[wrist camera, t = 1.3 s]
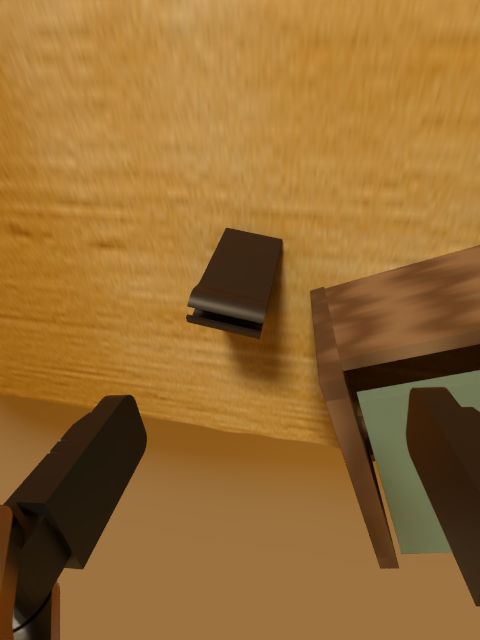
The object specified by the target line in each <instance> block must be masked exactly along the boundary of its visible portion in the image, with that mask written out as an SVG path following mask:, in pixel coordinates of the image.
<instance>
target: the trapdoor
mask: <svg viewBox="0 0 480 640" xmlns="http://www.w3.org/2000/svg"><path fill="white" fill-rule="evenodd" d="M418 387H445V388H447V389H448V390H449V391H450V393H451V394H452V395H453V397H454V398H455V399H456V401H457V402H458V403H459V405H460V406H461V407H473V408H475V409H476V410H478V411H479V412H480V370H478V371H472V372H467V373H461V374H455V375H450V376H444V377H439V378H433V379H427V380H422V381H416V382H410V383H405V384H399V385H393V386H388V387H382V388H377V389H371V390H365V391H360V392H357V395H358V399H359V403H360V407H361V410H362V414H363V417H364V421H365V425H366V428H367V432H368V435H369V439H370V442H371V446H372V450H373V453H374V457H375V460H376V464H377V468H378V471H379V475H380V478H381V482H382V485H383V489H384V493H385V496H386V500H387V503H388V507H389V511H390V514H391V518H392V521H393V525H394V528H395V532H396V535H397V539H398V543H399V546H400V550H401V553H402V554H419V553H453V552H452V550H451V548H450V546H449V543H448V541H447V539H446V537H445V534H444V532H443V530H442V528H441V525H440V523H439V521H438V518H437V516H436V514H435V512H434V509H433V507H432V505H431V503H430V500H429V498H428V496H427V494H426V491H425V489H424V487H423V484H422V482H421V480H420V478H419V475H418V473H417V471H416V469H415V466H414V464H413V462H412V460H411V457H410V455H409V451H408V447H407V442H406V424H407V414H408V403H409V393H410V390H411V389H412V388H418Z"/></svg>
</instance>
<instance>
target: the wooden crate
mask: <svg viewBox="0 0 480 640" xmlns="http://www.w3.org/2000/svg"><path fill="white" fill-rule="evenodd" d="M310 293H311V304H312V314H313V324H314V335H315V345H316V355H317V366H318V376H319V384H320V387H321V390H322V393H323V396H324V399H325V402H326V405H327V408H328V411H329V414H330V417H331V420H332V423H333V427H334V430H335V433H336V436H337V439H338V442H339V445H340V448H341V451H342V454H343V456H344V460H345V463H346V466H347V469H348V472H349V475H350V478H351V481H352V484H353V487H354V490H355V493H356V496H357V499H358V502H359V505H360V508H361V511H362V514H363V518H364V521H365V524H366V526H367V529H368V533H369V536H370V538H371V541H372V544H373V548H374V551H375V554H376V557H377V560H378V563H379V566H380V568H399V566H398V562H397V558H396V554H395V550H394V546H393V542H392V538H391V534H390V530H389V526H388V522H387V518H386V514H385V510H384V506H383V502H382V498H381V495H380V491H379V486H378V483H377V479H376V474H375V471H374V467H373V463H372V461H376V460H375V457H374V453H373V450H372V446H371V442H370V439H369V435H368V432H367V428H366V425H365V421H364V417H361V416H358V413H357V409H356V406H355V402H354V399H353V395H352V392H351V388H350V385H349V381H348V378H347V374H346V370H351V369H356V368H361V367H366V366H371V365H376V364H381V363H387V362H392V361H397V360H402V359H407V358H412V357H417V356H422V355H427V354H432V353H437V352H442V351H447V350H452V349H457V348H462V347H467V346H472V345H477V344H480V245H479V246H475V247H472V248H468V249H464V250H461V251H457V252H454V253H450V254H447V255H443V256H440V257H436V258H433V259H429V260H425V261H422V262H418V263H415V264H411V265H408V266H404V267H401V268H397V269H394V270H390V271H386V272H383V273H379V274H376V275H372V276H369V277H365V278H362V279H358V280H355V281H351V282H347V283H344V284H340V285H337V286H333V287H330V288H326V289H324V287H322V288H318V289H315V290H311V291H310Z"/></svg>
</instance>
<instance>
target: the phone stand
mask: <svg viewBox="0 0 480 640" xmlns="http://www.w3.org/2000/svg"><path fill="white" fill-rule="evenodd" d="M281 243H282V239H278V238H273V237H268V236H264V235H259V234H254V233H249V232H244V231H240V230H235V229H230V228H226V229H225V231H224V233H223V235H222V238H221V240H220V242H219V244H218V246H217V248H216V250H215V252H214V254H213V256H212V258H211V260H210V262H209V264H208V266H207V268H206V270H205V272H204V274H203V276H202V279H201V280H200V282H199V284H198V285H197V286H195V287H194V288H193V290H192V292H191V295H190V298H189V301H188V305H187V306H188V307H192V308H195V310H194V313H193V315H188V314H187V316H186V319H187V322H189V323H193V324H198V325H202V326H206V327H210V328H215V329H219V330H223V331H228V332H232V333H236V334H240V335H245V336H249V337H253V338H257V339H260V334H261V330H262V326H263V321H264V317H265V313H266V308H267V304H268V300H269V295H270V291H271V287H272V282H273V278H274V274H275V269H276V265H277V261H278V256H279V252H280V248H281Z"/></svg>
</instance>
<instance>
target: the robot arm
mask: <svg viewBox="0 0 480 640" xmlns="http://www.w3.org/2000/svg"><path fill="white" fill-rule="evenodd" d="M406 442H407V447H408V451H409V455H410V457H411V460H412V462H413V464H414V466H415V469H416V471H417V473H418V475H419V478H420V480H421V482H422V484H423V487H424V489H425V491H426V494H427V496H428V498H429V500H430V503H431V505H432V507H433V509H434V512H435V514H436V516H437V518H438V521H439V523H440V525H441V528H442V530H443V532H444V534H445V537H446V539H447V541H448V543H449V546H450V548H451V550H452V552H453V555H454V557H455V559H456V562H457V564H458V566H459V568H460V571H461V573H462V575H463V577H464V579H465V582H466V584H467V586H468V589H469V591H470V593H471V596H472V598H473V600H474V602H475V605H476V606H480V412H479V411H478V410H476V409H475V408H473V407H461V406H460V405H459V403H458V402H457V401H456V399H455V398H454V397H453V395H452V394H451V393H450V391H449V390H448V389H447V388H445V387H418V388H412V389H411V390H410V393H409V403H408V414H407V424H406ZM146 443H147V435H146V431H145V428H144V425H143V422H142V419H141V416H140V413H139V410H138V407H137V404H136V401H135V399H134V397H133V396H131V395H110V396H105V397H104V398H103V399H102V400H101V401H100V402H99V403H98V405H97V406H96V407H95V408H94V409H93V411H92V412H91V413H88V414H87V415H85V416H84V417H83V418H81V419H80V420H79V421H77V422H76V423H75V424H73V425H72V426H71V428H70V429H69V430H68V431H67V432H66V433H65V435H64V436H63V437H62V438H61V441H60V442H57V444H56V445H55V446H54V447H53V448H52V449H51V452H50V454H47V455H46V456H45V458H44V459H43V460H42V461H41V462H40V463H39V464H38V466H37V467H36V468H35V469H34V470H33V471H32V472H31V473H30V475H29V476H28V477H27V478H26V479H25V480H24V481H23V483H22V484H21V485H20V486H19V487H18V488H17V489H16V491H15V492H14V493H13V494H12V495H11V496H10V498H9V499H8V500H7V501H6V502H5V503H4V504H3V505H0V640H60V586H59V583H58V581H57V579H58V577H59V576H60V574H61V572H62V570H63V569H64V568H73V569H83V568H84V567H85V564H86V563H87V561H88V559H89V557H90V555H91V553H92V551H93V549H94V548H95V546H96V544H97V542H98V540H99V538H100V536H101V534H102V532H103V530H104V528H105V527H106V525H107V523H108V521H109V519H110V517H111V515H112V513H113V511H114V509H115V507H116V505H117V504H118V502H119V500H120V498H121V496H122V494H123V492H124V490H125V488H126V486H127V485H128V483H129V481H130V479H131V477H132V475H133V473H134V471H135V469H136V467H137V465H138V464H139V461H140V460H141V458H142V456H143V454H144V451H145V448H146Z"/></svg>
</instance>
